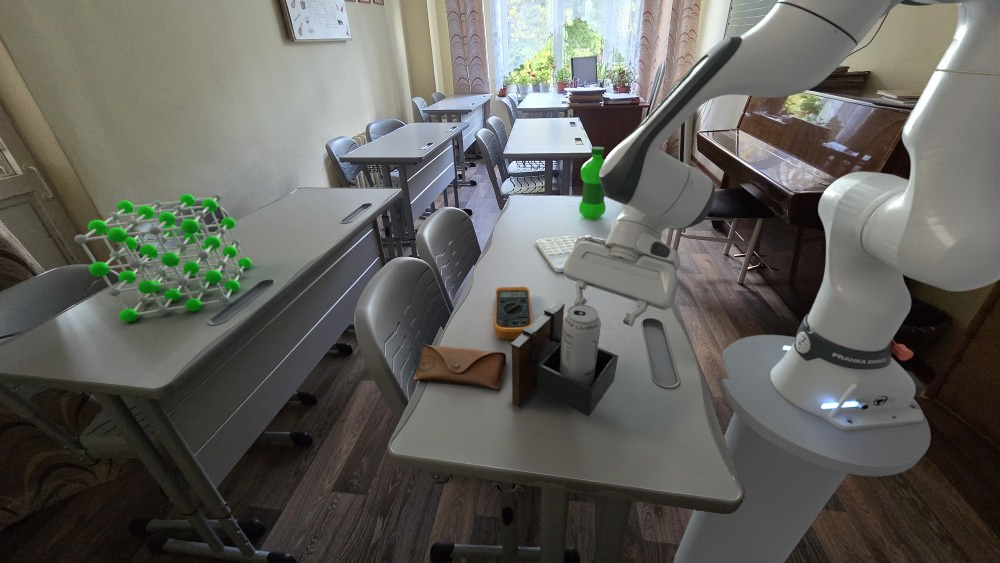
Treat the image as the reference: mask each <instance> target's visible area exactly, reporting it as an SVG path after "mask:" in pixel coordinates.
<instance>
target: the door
mask: <svg viewBox="0 0 1000 563" xmlns="http://www.w3.org/2000/svg"><path fill="white" fill-rule="evenodd" d="M565 307H566V304H565V303H563V302H561V301H558V300H557V301H556V302H555V303H554V304H552V306H550V307H549V309H551V310H554V311H556V314H557V318H556V336H557V337H559V338H562V330H563V319H564V316H565V315H564V314H565ZM552 317H553V316H552V315H549V314H547V313H544V312H543V314H542V315H541V316H539V317H538V318H537V319H536V320H535V321H534V322H532V323H533V324H532V325H531V326H530V327H529V329H531V330H533V331H535V334H536V347H535V357H538V358H540V359H542V360H543V359H544V358H545V357H546V356H547V355H548V353H549V352H550V351H551V350H552V349H553V348H554V347H555V346H556V345H557V344H558V343H557V342H551V331H552ZM510 348H511V395H512V398H511V399H512V403H511V404H512V406H515V407H517V409H520V408H521V406H523V404H524V403H526V401H527V400H528V399H529V398H530V396H531V395H532V394H534V392H535V391H537V366H538V364H536V363H534V362H533V363H530V359H531V336H530V335H528V334H526V333H522V334H521V335H520V336H519V337H518V338H517V339H513V341H512V342H511V343H510Z"/></svg>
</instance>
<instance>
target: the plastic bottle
mask: <svg viewBox="0 0 1000 563" xmlns="http://www.w3.org/2000/svg"><path fill="white" fill-rule="evenodd" d="M590 151H591V152H590V153H591V155H592V157H591V158H590V159H588V160H587V161H586V162H584V163H583V164H582V166H581V168H580V178H581V180H582V181H583V185H582V186H583V187H582V196H581V197H582V198H581V200H580V202H579V203H578V211H579V213H580V215H581V216H582V217H583V218H584V219H586V220H590V221H594V220H597V219H599V218H600V217H602V216H603V215H604V214H605V212H606V203H605V193H604V191H603V188H602V185H601V182H600V176H599V173H600V170H601V168H602V166H603V163H604V161H605V159H604V158H603V155H604V154H605V147H603V146H592V147H591V150H590Z"/></svg>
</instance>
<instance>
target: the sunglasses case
mask: <svg viewBox="0 0 1000 563" xmlns="http://www.w3.org/2000/svg"><path fill="white" fill-rule="evenodd" d="M506 355H507V354H506V353H505V352H503V351H490V350H482V349H474V348H465V347H454V346H453V347H452V346H441V345H429V344H422V349H421V354H420V356H419V357H420V358H419V362H418V366H417V369H416V372H415V374H414V376H413V379H412V380H413V381H414V382H433V383H434V382H436V383H444V384H451V385H460V386H468V387H474V388H482V389H488V390H489V389H490V390H499V389H500V388H501V385H502V383H503V379H504V375H505V373H506V368H507V356H506Z"/></svg>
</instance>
